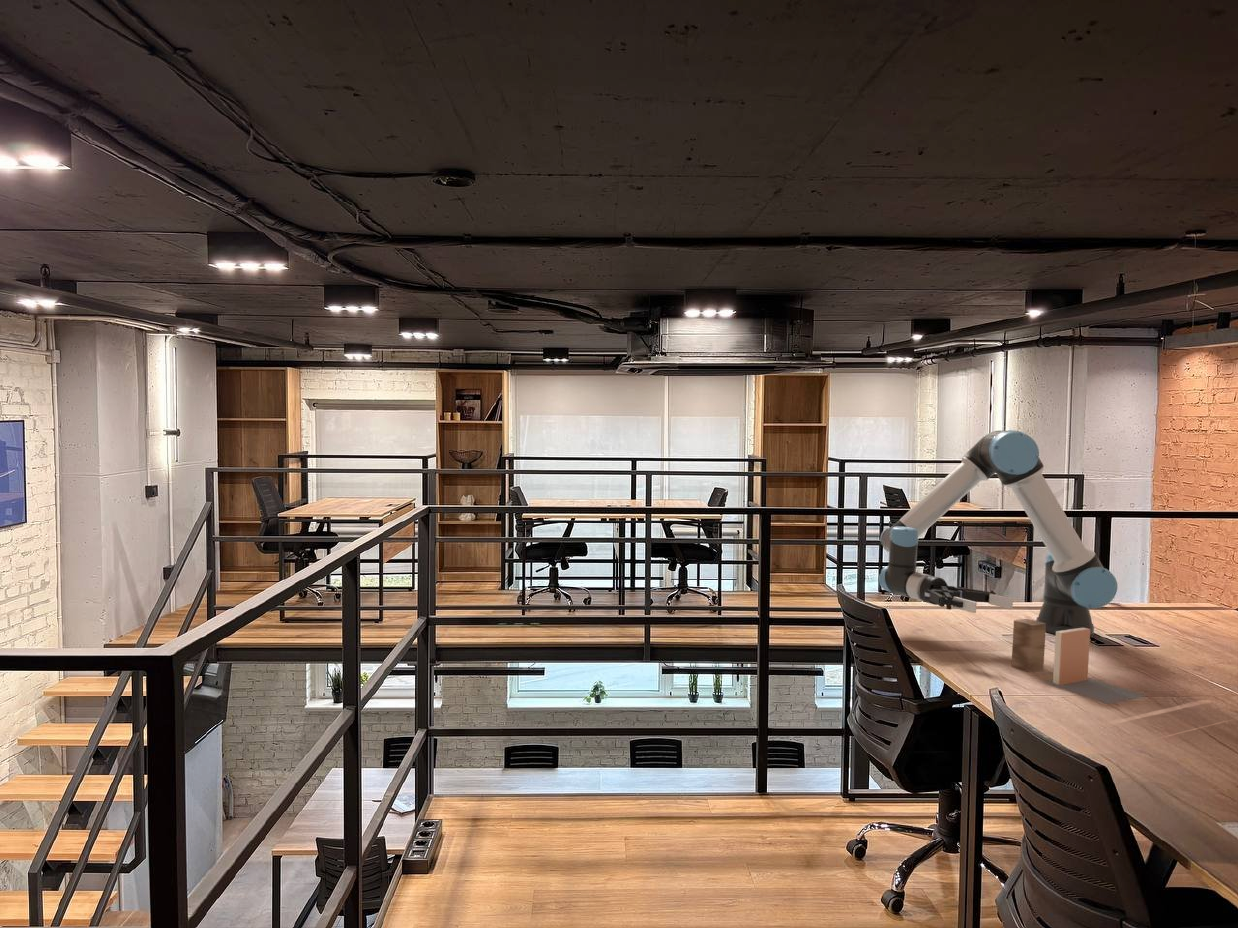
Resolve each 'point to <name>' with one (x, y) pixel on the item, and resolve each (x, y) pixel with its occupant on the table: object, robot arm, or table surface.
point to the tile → (1071, 656)
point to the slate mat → (1099, 691)
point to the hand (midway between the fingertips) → (994, 605)
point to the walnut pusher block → (1028, 645)
